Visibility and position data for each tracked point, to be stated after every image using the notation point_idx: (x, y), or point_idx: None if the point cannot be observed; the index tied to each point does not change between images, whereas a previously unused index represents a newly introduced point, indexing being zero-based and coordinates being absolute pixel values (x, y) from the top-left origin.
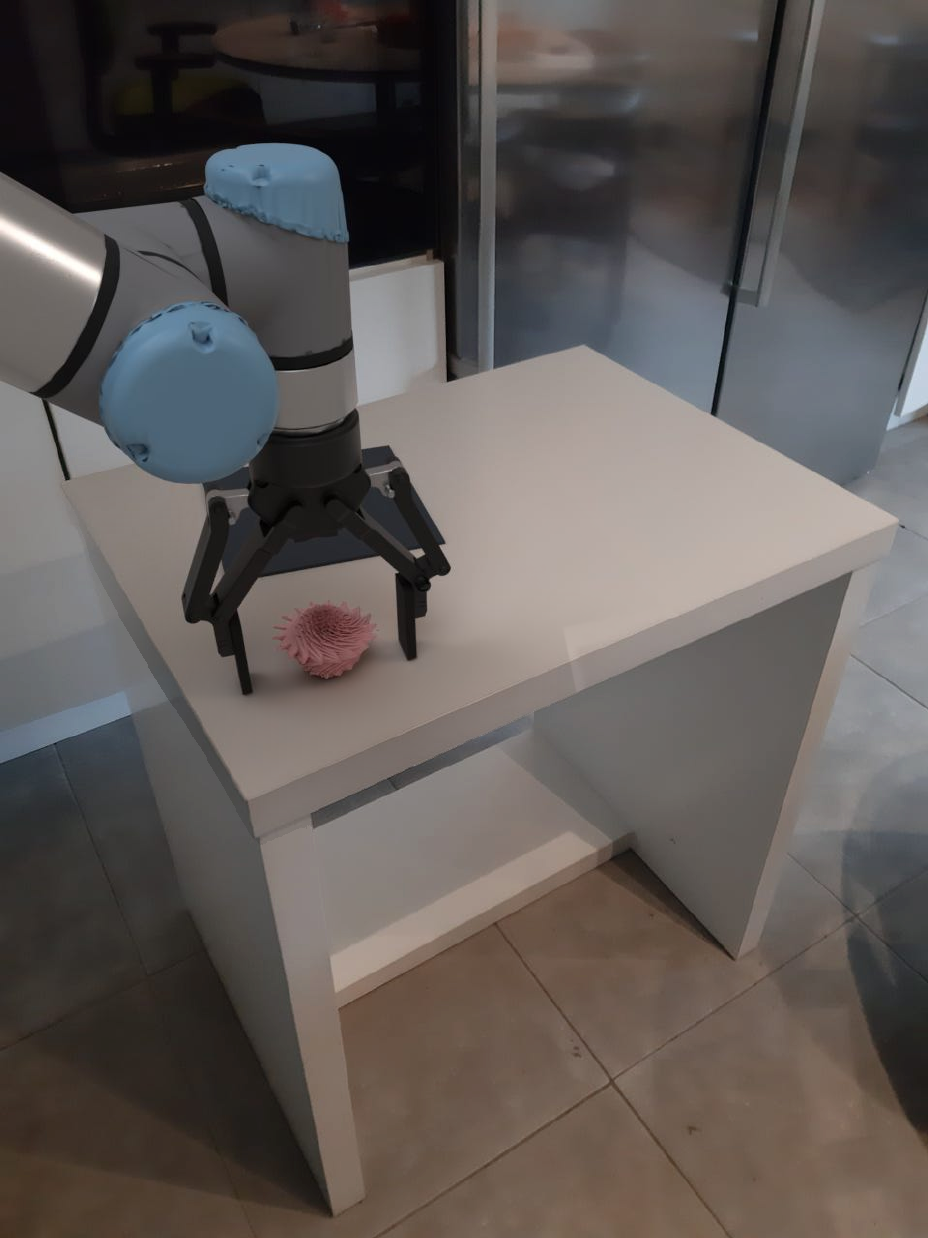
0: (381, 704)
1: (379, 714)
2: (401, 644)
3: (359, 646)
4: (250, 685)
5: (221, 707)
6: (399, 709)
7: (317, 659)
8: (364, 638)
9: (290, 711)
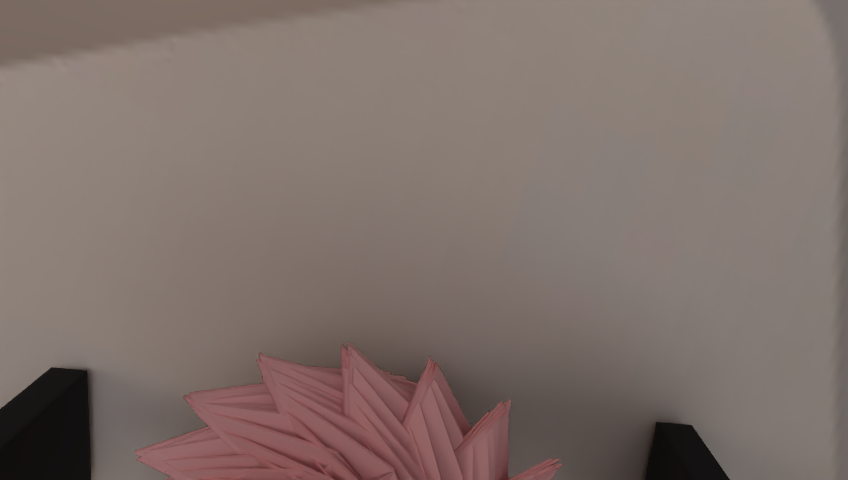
0: (246, 193)
1: (269, 145)
2: (85, 449)
3: (230, 411)
4: (671, 440)
5: (770, 399)
6: (190, 140)
7: (437, 402)
8: (194, 454)
9: (563, 289)
